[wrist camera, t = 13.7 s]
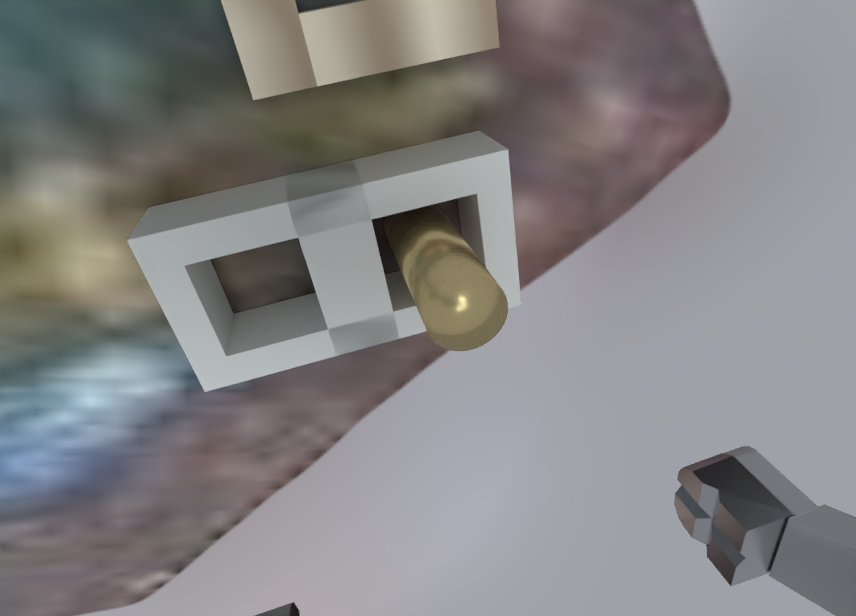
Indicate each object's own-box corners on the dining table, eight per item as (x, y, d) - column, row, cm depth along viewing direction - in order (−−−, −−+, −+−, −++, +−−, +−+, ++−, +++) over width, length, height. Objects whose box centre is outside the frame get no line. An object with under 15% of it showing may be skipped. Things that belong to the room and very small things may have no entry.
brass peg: (390, 258, 35) (432, 360, 25) (377, 202, 33) (418, 289, 23) (447, 243, 36) (511, 338, 26) (438, 187, 34) (504, 266, 23)
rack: (214, 345, 35) (205, 391, 31) (148, 207, 30) (126, 240, 26) (494, 271, 38) (521, 305, 33) (479, 130, 32) (508, 149, 28)
